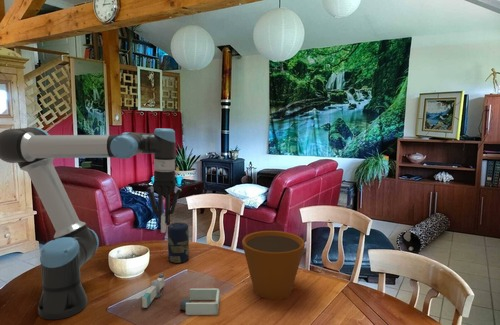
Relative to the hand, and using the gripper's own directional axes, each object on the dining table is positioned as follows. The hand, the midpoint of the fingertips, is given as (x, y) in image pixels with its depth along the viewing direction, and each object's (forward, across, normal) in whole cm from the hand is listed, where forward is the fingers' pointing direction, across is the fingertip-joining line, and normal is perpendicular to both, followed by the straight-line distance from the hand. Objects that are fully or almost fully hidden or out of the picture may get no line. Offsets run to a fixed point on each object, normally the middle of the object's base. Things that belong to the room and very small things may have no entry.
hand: (163, 231), depth 135 cm
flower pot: (+22, +42, -2) cm, 48 cm away
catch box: (+23, +17, -13) cm, 31 cm away
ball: (+22, +12, -16) cm, 30 cm away
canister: (+23, +2, +27) cm, 36 cm away
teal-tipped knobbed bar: (+22, -2, -7) cm, 23 cm away
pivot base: (+23, -2, -6) cm, 24 cm away
